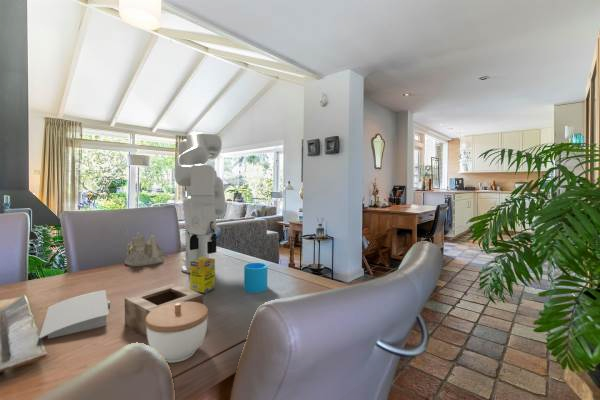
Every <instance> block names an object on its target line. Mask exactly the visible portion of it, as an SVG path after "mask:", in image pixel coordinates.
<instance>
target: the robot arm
mask: <svg viewBox="0 0 600 400" xmlns="http://www.w3.org/2000/svg"><path fill="white" fill-rule="evenodd" d="M222 146H223V145H222V139H221V136H219V135H218V134H217V133H212V132H201V131H200V132H199V131H197V132H196V131H193V132H191V133H189V134H187V136H186V139H183V140H181V141H180V142H179V143H178V154H179V155H178V156H177V158H176V160H175V162H174V179H175V182H176V184H177V185H179V186H181V187H185V189H186V190H185V191H186V193H187V195H188V196H187V197H184V200H183V201H182V209H183V215H184V217H183V218H184V227H185V228H184V229H185V230H184V232H185V233H184V234H185V257H184V258H183V259H182V262H184V265H183V266H181V271H182V272H184V273H187V274H190V261H193V260H196V259H199V258H201V257H204V258H210V254H216V253H217V241H218V240H219V237H220V234H221V228H220V227H219V226H218V225H217V218H221V217H224V216H225V215H226V212H227V204H226V196H225V188H224V182H223V179H222V178H221V177H220V176H218V175H217V171H216V169H215V168H214V166H212V165H210V164H206V163H207V162H208V161H209V159H210V160H214V159H215V160H216V158H218V156H220V153H221V151H222Z"/></svg>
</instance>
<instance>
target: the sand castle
mask: <svg viewBox="0 0 600 400" xmlns="http://www.w3.org/2000/svg"><path fill="white" fill-rule="evenodd" d="M145 238H146V237H145V236H142V234H140V232H136V236H135V237H132V240H131V241H130V242H129V243H127V245H126V250H125V252H126V253H127V254H126V255H127V256H126V258H125V259H124V264H125V265H127V266H130V267H141V266H147V265H149V266H150V265H157V264H161V263H164V262H165V257H164V256H163V255H164V254H163V248H162V247H161V246H159V244H157V241H156V237H155V235H151V236H150V238H149V239H148V241H147V243H146V239H145Z"/></svg>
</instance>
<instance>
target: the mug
mask: <svg viewBox="0 0 600 400" xmlns="http://www.w3.org/2000/svg"><path fill="white" fill-rule="evenodd" d="M243 266H244V267H243V269H244V271H243V277H244V278H243V281H244V282H243V283H244V285H243V290H244V291H245V292H247V293H252V294H253V293H254V294H255V293H256V294H257V293H262V292H265V291H267V290H268V264H267V263H264V262H251V263H250V262H249V263H246V264H245V265H243Z"/></svg>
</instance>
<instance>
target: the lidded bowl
mask: <svg viewBox="0 0 600 400" xmlns="http://www.w3.org/2000/svg"><path fill="white" fill-rule="evenodd" d="M208 315H209V309H208V307H207V306H206V305H205V304H204V303H203V304H201V303H198V302H188V301H187V302H176V303H170V304H167V305H163V306H161V307H158V308H156V309H154V310H152V311H151V312H150V313H149V314H148V315H147V316H146V319H145V323H146V332H147V337H146V340H147V342H148V346H149V347H150V346H151V347H153V348H155V349H156V350H157V351H159V353H160V354H161V355H162V356H163V357H164V358H165V360H166V361H167V362H166V363H170V364H171V363H173V364H174V363H179V362H183V361H186V360H188V359H189V358H191V357H192V356H194V354H195V353H196V351H197V350H198V349H199V348H200V347H201V345H202V344H203V342H204V340H205V337H206V335H207V334H206V333H207V329H208V328H207V327H208Z"/></svg>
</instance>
